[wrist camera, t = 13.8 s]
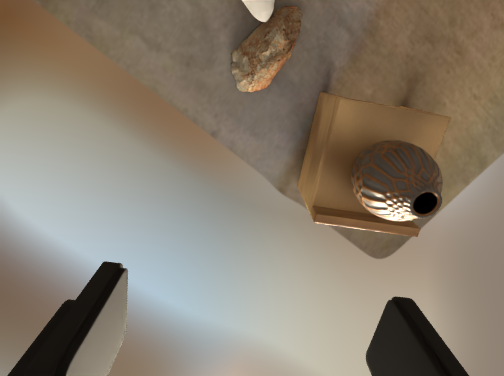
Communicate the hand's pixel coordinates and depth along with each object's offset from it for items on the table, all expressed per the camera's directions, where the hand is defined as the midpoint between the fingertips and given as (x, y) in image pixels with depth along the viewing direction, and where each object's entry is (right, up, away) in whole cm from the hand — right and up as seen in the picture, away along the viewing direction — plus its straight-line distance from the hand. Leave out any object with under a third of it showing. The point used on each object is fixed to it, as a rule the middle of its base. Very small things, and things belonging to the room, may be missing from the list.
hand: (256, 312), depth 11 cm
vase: (+12, +6, +20) cm, 24 cm away
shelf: (+12, +9, +27) cm, 31 cm away
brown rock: (+1, +20, +23) cm, 30 cm away
